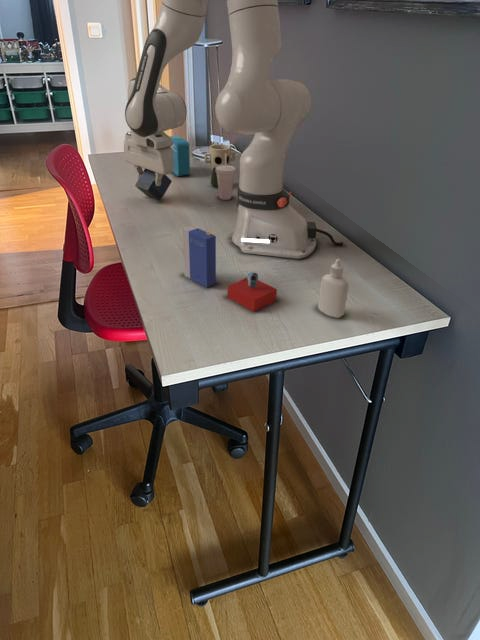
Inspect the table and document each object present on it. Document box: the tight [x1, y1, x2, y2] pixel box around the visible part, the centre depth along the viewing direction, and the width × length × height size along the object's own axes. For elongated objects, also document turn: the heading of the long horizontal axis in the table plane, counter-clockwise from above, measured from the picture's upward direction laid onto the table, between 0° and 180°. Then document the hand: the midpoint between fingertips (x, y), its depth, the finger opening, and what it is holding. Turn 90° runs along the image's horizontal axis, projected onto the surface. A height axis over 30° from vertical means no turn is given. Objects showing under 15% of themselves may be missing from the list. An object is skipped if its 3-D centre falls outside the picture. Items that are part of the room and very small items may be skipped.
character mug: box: [204, 143, 236, 187], centre depth 170 cm, size 11×7×13 cm, turn 111°
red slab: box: [227, 272, 278, 312], centre depth 107 cm, size 8×7×6 cm
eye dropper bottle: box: [317, 258, 350, 319], centre depth 101 cm, size 4×6×12 cm
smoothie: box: [215, 153, 236, 201], centre depth 159 cm, size 6×6×14 cm
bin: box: [134, 168, 173, 202], centre depth 157 cm, size 8×6×6 cm
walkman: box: [182, 225, 217, 288], centre depth 112 cm, size 8×3×12 cm, turn 45°
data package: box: [168, 135, 191, 177], centre depth 182 cm, size 12×4×12 cm, turn 26°
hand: (149, 182), depth 156 cm, fingers closed on bin, 6 cm apart
